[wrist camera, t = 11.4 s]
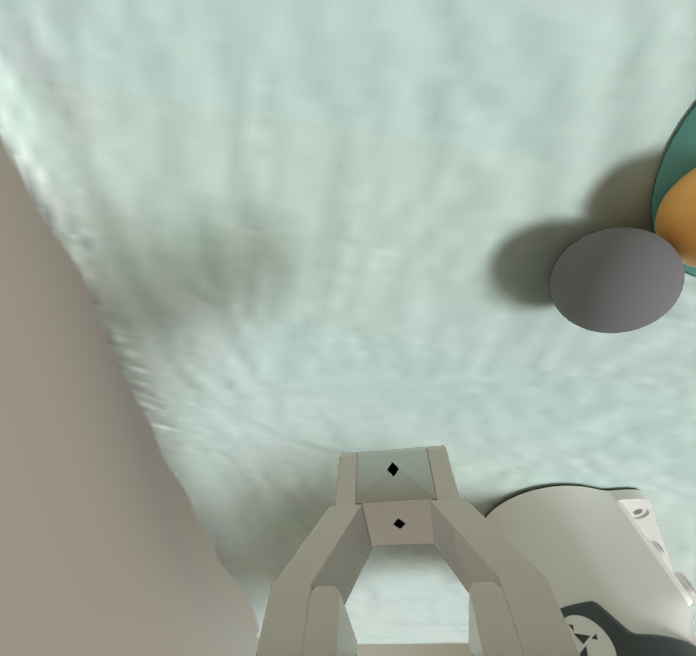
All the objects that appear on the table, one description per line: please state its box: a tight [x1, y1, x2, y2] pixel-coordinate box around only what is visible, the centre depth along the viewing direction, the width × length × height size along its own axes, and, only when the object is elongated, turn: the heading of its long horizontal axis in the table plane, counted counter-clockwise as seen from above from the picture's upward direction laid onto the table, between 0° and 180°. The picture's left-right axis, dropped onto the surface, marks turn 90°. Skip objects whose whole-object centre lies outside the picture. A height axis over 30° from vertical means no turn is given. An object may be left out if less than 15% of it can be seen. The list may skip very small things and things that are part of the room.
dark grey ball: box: [550, 227, 685, 333], centre depth 19 cm, size 6×6×6 cm
